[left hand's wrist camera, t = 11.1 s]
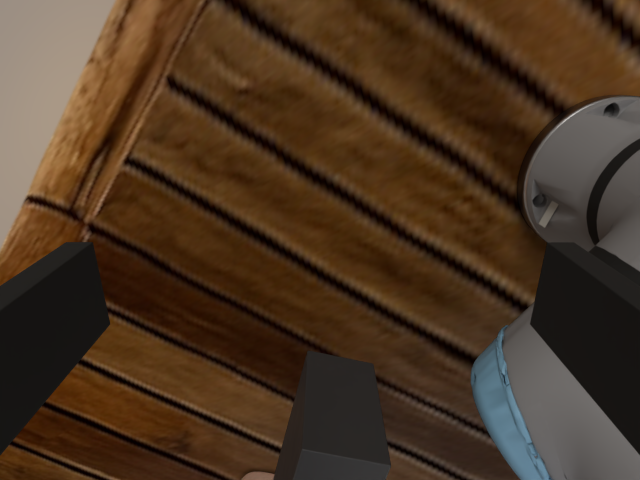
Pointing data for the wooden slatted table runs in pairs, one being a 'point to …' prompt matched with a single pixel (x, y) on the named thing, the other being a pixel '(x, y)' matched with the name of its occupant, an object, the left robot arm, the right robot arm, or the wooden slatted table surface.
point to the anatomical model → (258, 476)
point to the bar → (335, 424)
